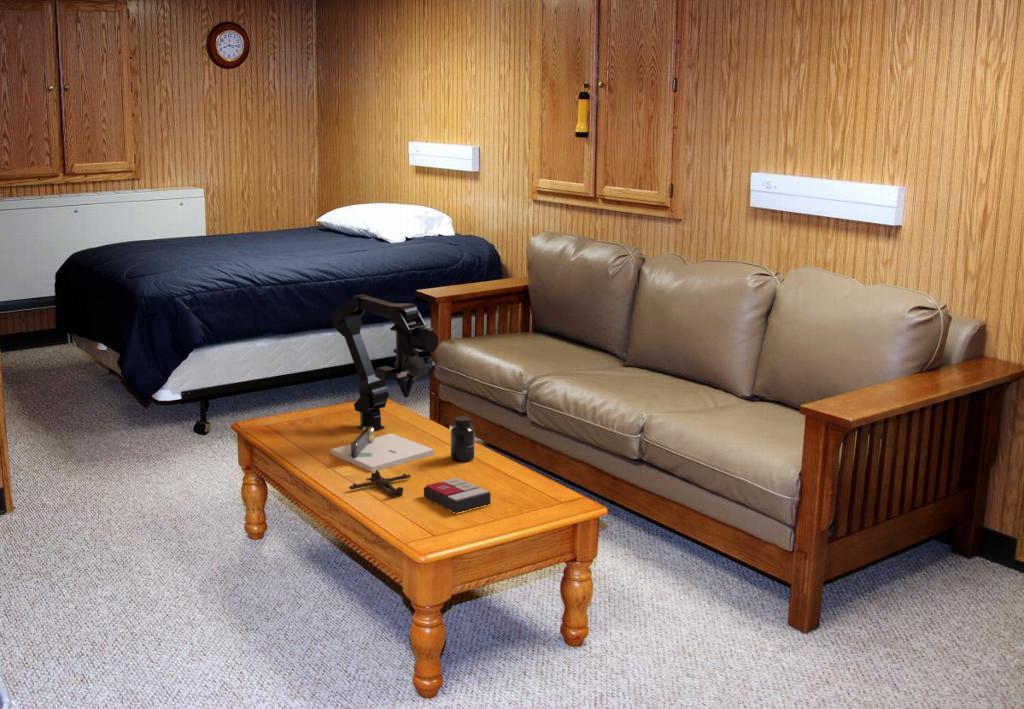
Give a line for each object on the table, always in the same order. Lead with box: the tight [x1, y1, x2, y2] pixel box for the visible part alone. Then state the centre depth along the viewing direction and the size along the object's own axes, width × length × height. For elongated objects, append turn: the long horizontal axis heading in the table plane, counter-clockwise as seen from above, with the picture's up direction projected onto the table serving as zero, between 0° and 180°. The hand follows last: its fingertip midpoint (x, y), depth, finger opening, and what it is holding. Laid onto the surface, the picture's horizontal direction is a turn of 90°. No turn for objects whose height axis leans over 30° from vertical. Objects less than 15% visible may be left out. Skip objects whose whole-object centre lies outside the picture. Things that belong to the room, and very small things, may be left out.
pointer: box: [350, 426, 375, 457], centre depth 311 cm, size 16×3×4 cm, turn 171°
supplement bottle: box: [450, 416, 476, 463], centre depth 308 cm, size 7×7×12 cm
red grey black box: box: [423, 477, 492, 513], centre depth 278 cm, size 11×4×15 cm
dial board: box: [330, 433, 435, 473], centre depth 312 cm, size 20×22×2 cm
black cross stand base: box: [348, 470, 412, 499], centre depth 285 cm, size 18×4×14 cm
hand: (406, 397), depth 324 cm, fingers closed
